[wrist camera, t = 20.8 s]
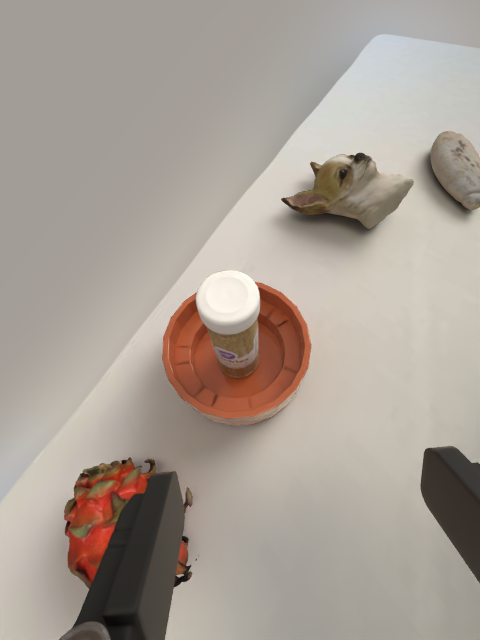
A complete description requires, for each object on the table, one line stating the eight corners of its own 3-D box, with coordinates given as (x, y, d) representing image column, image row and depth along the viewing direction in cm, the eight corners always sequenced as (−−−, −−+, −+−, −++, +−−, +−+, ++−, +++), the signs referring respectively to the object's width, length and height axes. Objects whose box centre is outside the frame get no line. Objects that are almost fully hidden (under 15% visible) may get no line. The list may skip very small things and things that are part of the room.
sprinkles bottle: (215, 377, 31) (188, 321, 19) (221, 338, 33) (199, 266, 21) (258, 381, 31) (257, 325, 19) (261, 341, 33) (261, 268, 21)
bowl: (245, 286, 37) (243, 258, 32) (329, 365, 32) (342, 347, 27) (153, 354, 34) (135, 335, 29) (230, 457, 28) (223, 455, 23)
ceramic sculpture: (404, 197, 31) (279, 162, 36) (379, 253, 38) (278, 218, 43) (434, 143, 34) (317, 119, 40) (405, 204, 42) (310, 177, 47)
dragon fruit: (111, 460, 30) (199, 543, 28) (25, 540, 23) (133, 658, 21) (126, 415, 26) (234, 510, 23) (24, 499, 19) (163, 645, 16)
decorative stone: (448, 216, 41) (464, 196, 38) (415, 147, 48) (426, 126, 45) (494, 213, 40) (513, 192, 37) (453, 145, 47) (466, 123, 44)
